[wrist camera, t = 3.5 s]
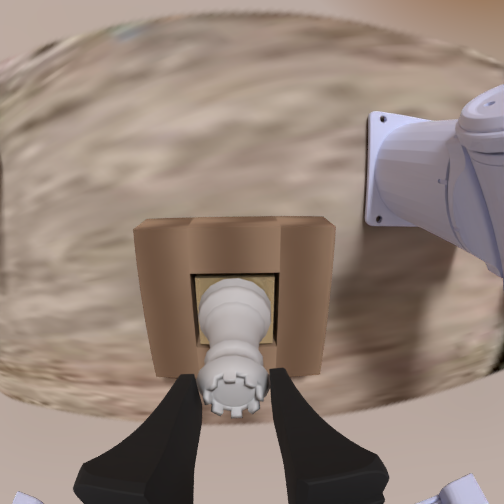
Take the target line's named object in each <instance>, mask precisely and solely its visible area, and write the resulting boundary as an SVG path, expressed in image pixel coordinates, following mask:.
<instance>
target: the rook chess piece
mask: <svg viewBox="0 0 504 504" xmlns="http://www.w3.org/2000/svg"><path fill="white" fill-rule="evenodd" d="M198 309H199V313H198V319H199V324H200V328H201V331H202V332H203V334H204V335H205V337H206V338H207V339H208V341H209V344H210V349H209V350H208V351H207V353H206V356H205V359H204V363H205V366H204V367H203V368H202V369H201V370H200V371H199V373H198V376H197V380H196V383H197V387H198V390H199V392H200V393H201V394H202V396H203V399H204V403H205V405H208V404H212V407H211V412H213V413H215V414H217V415H219V416H221V415H222V414H223V410H228V411H231V418H242V410H245V409H248V411H249V412H250V413H251V414H254V413H255V412H256V411H258V410H259V409H260V403H259V401H264V399H263V398H264V397H265V396H266V395H267V393H268V391H269V389H270V375H269V374H268V372H267V371H266V369H265V368H264V367H263V356H262V355H261V353H260V352H259V343H260V342H261V341H262V339H263V338H264V337H265V336H266V334H267V331H268V329H269V326H270V324H271V304H270V300H269V299H268V297H267V295H266V293H265V291H264V290H263V289H261V288H260V287H259V286H257V285H256V284H255V283H253V282H251V281H247V280H243V279H240V278H234V279H223V280H221V281H219V282H217V283H215V284H213V285H211V286H210V287H209V288H208V289H207V290H206V291H205V293H204V294H203V295H202V297H201V300H200V304H199V307H198Z"/></svg>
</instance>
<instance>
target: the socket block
mask: <svg viewBox="0 0 504 504" xmlns="http://www.w3.org/2000/svg"><path fill="white" fill-rule="evenodd" d="M335 230H336V227H335V226H334V225H333V224H332V223H330V222H329V221H328V220H327V219H325V218H324V217H313V216H266V217H198V218H163V219H146V220H145V221H144V222H142V223H141V224H140V225H139V226H137V227H136V228H135V229H133V233H134V243H135V252H136V261H137V269H138V276H139V284H140V291H141V297H142V304H143V310H144V316H145V322H146V328H147V333H148V338H149V344H150V349H151V354H152V359H153V364H154V368H155V373H156V377H172V378H178V377H179V376H180V375H181V374H194V375H195V378H197V376H198V373H199V371H200V370H201V369H202V368H203V367H204V366H205V363H204V359H205V356H206V353H207V351H208V350H209V349H210V344H201V343H200V332H199V322H198V310H197V298H196V285H195V277H196V274H204V273H274V277H275V279H274V313H273V343H261V344H259V352H260V353H261V355H262V356H263V367H264V368H265V369H266V371H267V372H268V374H269V375H270V373H269V369H273V368H282V367H283V368H285V369H286V371H287V373H288V375H289V377H293V376H307V375H319V374H320V370H321V363H322V356H323V349H324V341H325V334H326V326H327V318H328V309H329V300H330V290H331V280H332V269H333V258H334V245H335Z"/></svg>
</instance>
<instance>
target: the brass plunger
mask: <svg viewBox="0 0 504 504" xmlns="http://www.w3.org/2000/svg"><path fill="white" fill-rule="evenodd" d="M234 278H240V279H243V280H247V281H251V282H253V283H255V284H256V285H257V286H259V287H260V288H261V289H263V290H264V291H265V293H266V295H267V297H268V299H269V300H270V304H271V324H270V326H269V329H268V331H267V334H266V336H265V337H264V338H263V339H262V341H261V342H260V343H259V344H261V343H273V313H274V279H275V277H274V273H204V274H196V277H195V285H196V298H197V310H198V313H199V309H198V307H199V304H200V300H201V297H202V295H203V294H204V293H205V291H206V290H207V289H208V288H209V287H210V286H211V285H213V284H215V283H217V282H219V281H221V280H223V279H234ZM198 322H199V319H198ZM199 332H200V343H201V344H209V341H208V339H207V338H206V337H205V335H204V334H203V332H202V331H201V328H200V324H199Z"/></svg>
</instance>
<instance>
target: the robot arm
mask: <svg viewBox="0 0 504 504" xmlns="http://www.w3.org/2000/svg"><path fill="white" fill-rule="evenodd" d="M381 116H383V118H384V122H381V121H380V117H381ZM379 215H380V220H379V221H378V222H377V221H376V217H377V216H379ZM365 222H366V223H367V224H368V225H370V226H406V227H420V228H422V229H424V230H426V231H428V232H430V233H432V234H434V235H436V236H438V237H440V238H442V239H444V240H446V241H448V242H450V243H452V244H454V245H456V246H457V247H459V248H461V249H463V250H465V251H467V252H469V253H471V254H472V255H474V256H476V257H477V258H479V259H481V260H483V261H484V262H485V263H486V265H487V268H488V270H489V271H491V272H493V273H494V274H496V275H497V276H499V277H501V278H503V288H504V84H502V85H500V86H497V87H495V88H492V89H490V90H488V91H486V92H484V93H482V94H480V95H479V96H477V97H475V98H474V99H472V100H471V101H470V102H469V103H467V104H466V105H465V106H464V108H463V109H462V112H461V115H460V118H459V119H454V120H440V121H430V120H425V119H420V118H415V117H410V116H404V115H398V114H392V113H386V112H379V111H374V112H371V113H370V114H369V116H368V168H367V190H366V207H365ZM269 373H270V389H271V403H272V412H273V420H274V425H275V429H276V433H277V438H278V442H279V446H280V450H281V454H282V458H283V464H284V469H285V478H286V486H287V494H288V503H289V504H383V503H384V502H385V498H384V496H383V491H384V489H385V487H386V485H387V483H388V481H389V475H388V472H387V469H386V467H385V466H384V464H383V462H382V461H381V459H380V458H379V457H378V455H377V454H375V453H373V452H370V451H368V450H366V449H364V448H362V447H360V446H359V445H357V444H355V443H354V442H352V441H350V440H349V439H347V438H346V437H344V436H343V435H342V434H340V433H339V432H337V431H336V430H335V429H334V428H332V427H331V426H330V425H329V424H328V423H326V422H325V421H324V420H323V419H322V418H321V417H320V416H319V415H318V414H317V413H316V412H315V411H314V410H313V408H312V407H311V406H310V405H309V404H308V403H307V402H306V400H305V399H304V398H303V396H302V395H301V394H300V392H299V391H298V390H297V388H296V387H295V385H294V384H293V382H292V380H291V379H290V377H289V375H288V373H287V371H286V369H285V368H283V367H282V368H273V369H269ZM201 425H202V403H201V399H200V395H199V391H198V387H197V383H196V379H195V375H194V374H181V375H180V376H179V377H178V378H177V380H176V381H175V383H174V384H173V386H172V387H171V389H170V390H169V392H168V393H167V395H166V396H165V397H164V399H163V400H162V401H161V403H160V404H159V405H158V407H157V408H156V409H155V410H154V411H153V413H152V414H151V415H150V416H149V417H148V418H147V419H146V420H145V421H144V423H143V424H142V425H141V426H140V427H139V428H137V429H136V431H134V432H133V433H132V434H131V435H130V436H128V437H127V438H126V439H124V440H123V441H122V442H121V443H119V444H118V445H116V446H115V447H113V448H112V449H110V450H109V451H107V452H105V453H104V454H102V455H100V456H98V457H96V458H94V459H92V460H90V461H88V462H86V463H83V465H82V467H81V469H80V471H79V473H78V476H77V478H76V481H75V484H74V487H73V490H74V493H75V494H76V496H77V497H78V498H79V499H80V500H81V501H82V502H83V503H84V504H193V489H194V487H193V486H194V468H195V461H196V455H197V448H198V443H199V436H200V430H201ZM12 504H44V503H43V502H42V501H40V500H39V499H37V498H35V497H32V496H30V495H27V494H25V493H22V492H20V491H18V492H17V494H16V496H15V498H14V500H13V503H12ZM416 504H489V503H488V501H487V499H486V497H485V496H484V494H483V492H482V490H481V488H480V487H479V485H478V483H477V481H476V480H475V478H474V476H473V474H471V473H469V474H467V475H465V476H463V477H461V478H459V479H457V480H455V481H453V482H451V483H449V484H447V485H446V486H445V487H444V488H442V490H441V491H440V493H439V495H436V496H434V497H431V498H429V499H426V500H424V501H421V502H419V503H416Z"/></svg>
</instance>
